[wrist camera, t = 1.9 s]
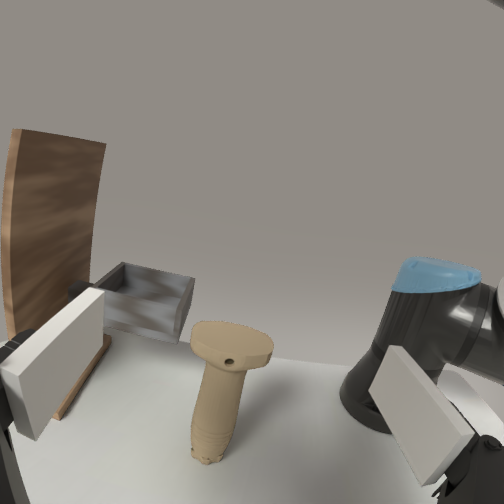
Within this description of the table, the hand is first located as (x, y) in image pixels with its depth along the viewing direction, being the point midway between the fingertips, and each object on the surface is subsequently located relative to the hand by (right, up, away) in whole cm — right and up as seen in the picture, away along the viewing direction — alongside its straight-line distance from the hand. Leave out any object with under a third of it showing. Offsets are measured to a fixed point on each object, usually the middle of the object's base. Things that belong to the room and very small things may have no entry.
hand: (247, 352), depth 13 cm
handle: (-5, -17, +14) cm, 22 cm away
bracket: (-18, -12, +21) cm, 30 cm away
